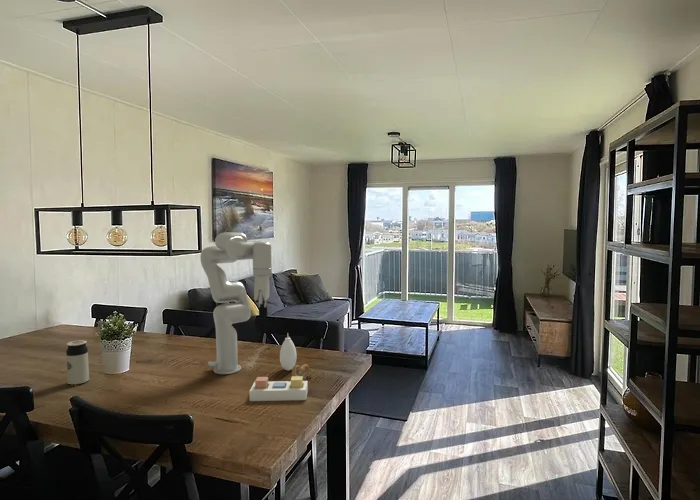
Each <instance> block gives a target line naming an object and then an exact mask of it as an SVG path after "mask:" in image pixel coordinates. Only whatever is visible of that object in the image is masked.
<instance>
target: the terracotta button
mask: <svg viewBox="0 0 700 500" xmlns="http://www.w3.org/2000/svg"><path fill="white" fill-rule="evenodd" d="M254 382H255V389H267V388H268V382H269V376H257V377H256V379H255V380H254Z"/></svg>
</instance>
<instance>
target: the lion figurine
mask: <svg viewBox="0 0 700 500" xmlns="http://www.w3.org/2000/svg"><path fill="white" fill-rule="evenodd" d="M305 373H307V376H308V379H312V372H311V371H310V365H308V364H306V363H304V364H301V365H298V364H295V366H294V367H293V368H292V369H291V377H292V376H303V378H305Z"/></svg>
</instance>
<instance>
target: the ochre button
mask: <svg viewBox="0 0 700 500" xmlns="http://www.w3.org/2000/svg"><path fill="white" fill-rule="evenodd" d="M290 381H291V388H302V387H303V381H304V377H303V376H292V375H291V379H290Z"/></svg>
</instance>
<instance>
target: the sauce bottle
mask: <svg viewBox="0 0 700 500" xmlns="http://www.w3.org/2000/svg"><path fill="white" fill-rule="evenodd" d="M286 336H287V337H285V338H284V341H283V342H282V344H281V348H280V351H279V361H280V362H279V363H280V365H281V367H282V368H283V369H284V370H285V371H287V372H288V371H292V368H293V367H294V366H295V365H296V363H297V358H298V357H297V349H296V346H295V344H294V342H293V340H292V339H291V337H289V332H287V335H286Z"/></svg>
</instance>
